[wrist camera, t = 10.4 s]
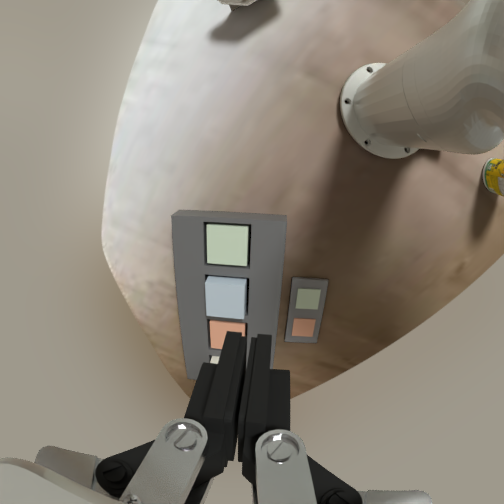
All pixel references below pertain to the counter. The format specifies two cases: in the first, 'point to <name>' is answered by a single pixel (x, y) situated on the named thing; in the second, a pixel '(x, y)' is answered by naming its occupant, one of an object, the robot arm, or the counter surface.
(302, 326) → the card
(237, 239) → the sage key
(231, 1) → the platform
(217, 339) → the terracotta key
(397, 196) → the counter surface
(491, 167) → the supplement bottle
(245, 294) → the blue key
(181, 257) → the keyguard frame
